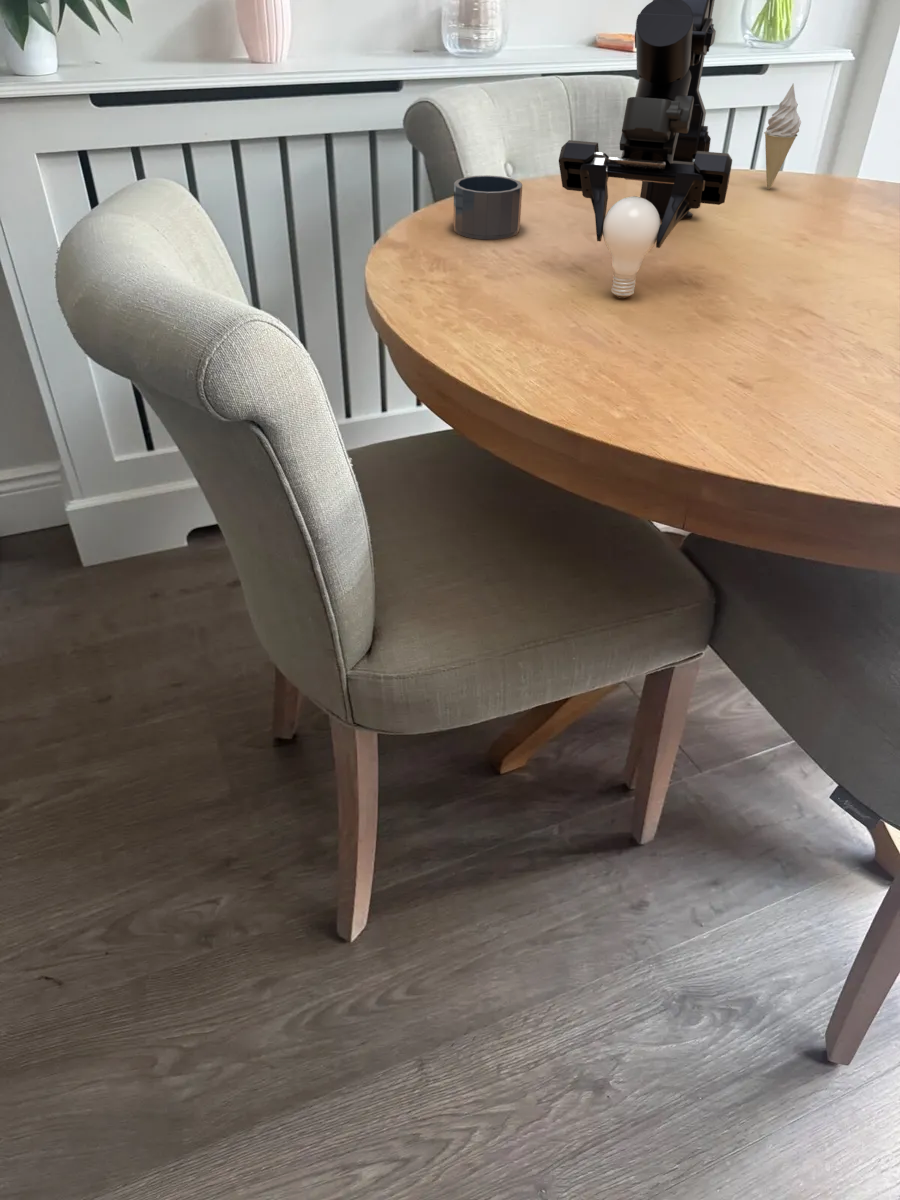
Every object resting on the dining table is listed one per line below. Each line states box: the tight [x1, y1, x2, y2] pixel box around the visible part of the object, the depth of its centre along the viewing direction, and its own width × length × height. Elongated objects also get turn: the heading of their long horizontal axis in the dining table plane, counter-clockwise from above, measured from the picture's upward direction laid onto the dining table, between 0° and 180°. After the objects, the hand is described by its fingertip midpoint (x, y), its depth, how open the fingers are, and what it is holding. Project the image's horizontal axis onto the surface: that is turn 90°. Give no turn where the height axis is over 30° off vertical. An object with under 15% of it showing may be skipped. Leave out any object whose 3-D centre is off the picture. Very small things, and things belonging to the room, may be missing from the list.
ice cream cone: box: [763, 83, 802, 190], centre depth 137 cm, size 5×5×15 cm
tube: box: [452, 174, 523, 241], centre depth 121 cm, size 9×9×6 cm
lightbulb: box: [602, 195, 662, 299], centre depth 99 cm, size 6×6×11 cm
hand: (627, 242), depth 97 cm, fingers closed on lightbulb, 6 cm apart
